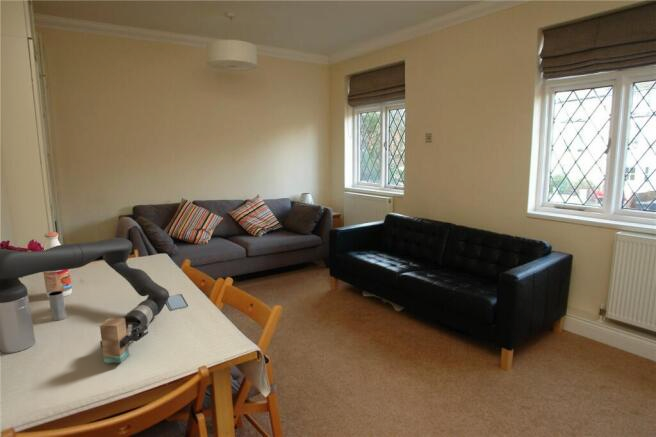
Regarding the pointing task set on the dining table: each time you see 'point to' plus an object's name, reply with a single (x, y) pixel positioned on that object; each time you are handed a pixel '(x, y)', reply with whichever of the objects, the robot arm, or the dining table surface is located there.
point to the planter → (57, 305)
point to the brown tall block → (113, 339)
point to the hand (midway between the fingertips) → (111, 345)
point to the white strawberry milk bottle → (56, 278)
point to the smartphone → (176, 302)
